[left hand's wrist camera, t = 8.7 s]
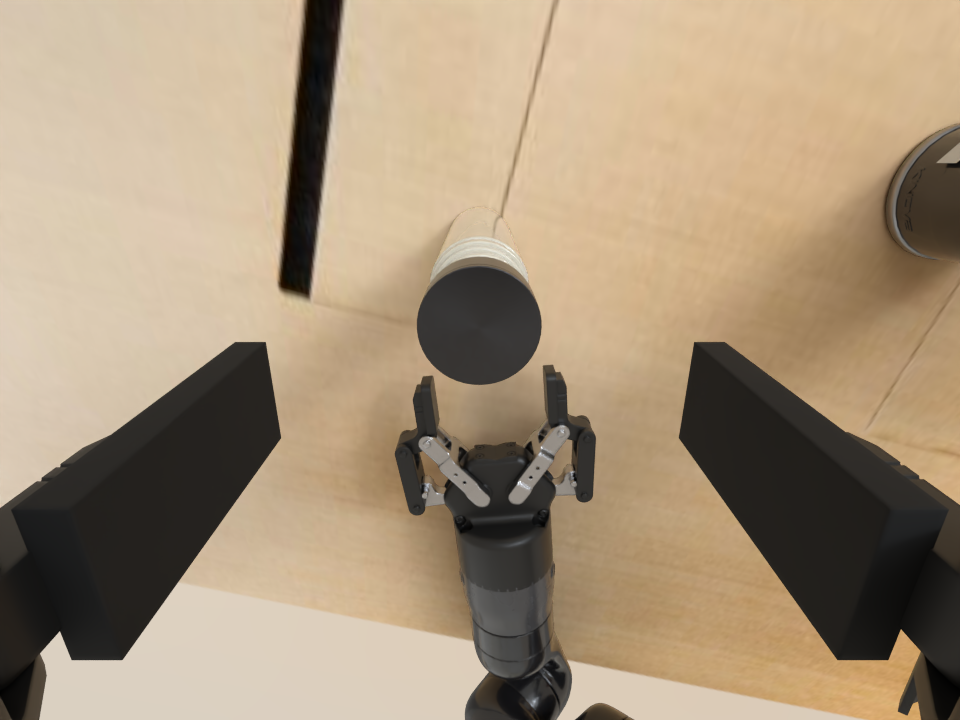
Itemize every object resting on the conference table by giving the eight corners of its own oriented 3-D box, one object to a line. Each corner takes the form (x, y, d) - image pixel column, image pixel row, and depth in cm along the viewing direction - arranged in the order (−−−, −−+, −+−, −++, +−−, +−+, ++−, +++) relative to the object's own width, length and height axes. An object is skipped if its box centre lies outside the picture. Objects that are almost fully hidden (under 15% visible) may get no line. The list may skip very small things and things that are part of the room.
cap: (558, 292, 20) (565, 305, 18) (499, 384, 21) (501, 404, 19) (456, 234, 19) (453, 241, 17) (402, 333, 20) (395, 350, 18)
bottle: (522, 227, 38) (568, 301, 18) (491, 281, 40) (502, 403, 20) (467, 194, 37) (453, 235, 17) (437, 251, 39) (392, 347, 19)
